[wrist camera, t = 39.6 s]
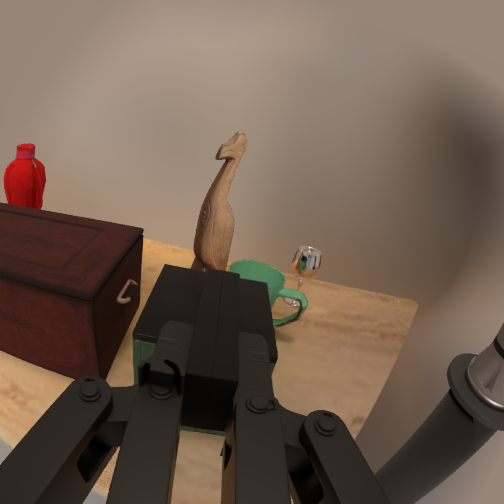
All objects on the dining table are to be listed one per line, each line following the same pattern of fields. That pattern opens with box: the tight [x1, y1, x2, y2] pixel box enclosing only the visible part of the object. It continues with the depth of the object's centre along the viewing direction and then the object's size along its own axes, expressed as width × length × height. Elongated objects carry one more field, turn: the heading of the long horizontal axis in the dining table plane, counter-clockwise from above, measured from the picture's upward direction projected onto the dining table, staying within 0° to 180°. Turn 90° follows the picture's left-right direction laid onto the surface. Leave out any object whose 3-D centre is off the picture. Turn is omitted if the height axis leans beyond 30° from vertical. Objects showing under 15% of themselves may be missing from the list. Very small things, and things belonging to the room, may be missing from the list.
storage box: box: [0, 203, 144, 380], centre depth 41 cm, size 39×23×15 cm, turn 92°
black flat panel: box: [133, 264, 278, 363], centre depth 34 cm, size 15×14×1 cm
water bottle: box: [4, 144, 46, 210], centre depth 54 cm, size 9×11×25 cm
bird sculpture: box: [191, 131, 247, 272], centre depth 56 cm, size 11×12×32 cm
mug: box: [228, 260, 308, 327], centre depth 54 cm, size 15×10×10 cm
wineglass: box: [285, 246, 321, 306], centre depth 65 cm, size 6×6×12 cm
